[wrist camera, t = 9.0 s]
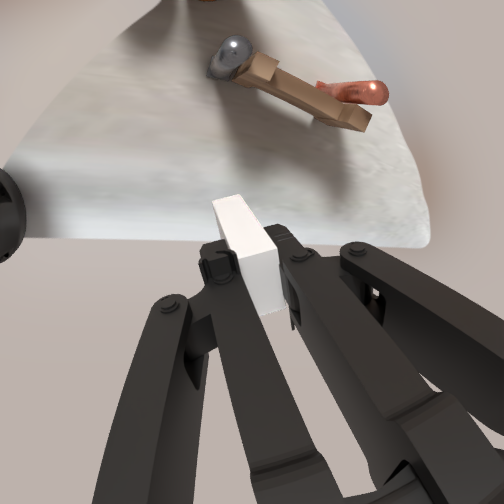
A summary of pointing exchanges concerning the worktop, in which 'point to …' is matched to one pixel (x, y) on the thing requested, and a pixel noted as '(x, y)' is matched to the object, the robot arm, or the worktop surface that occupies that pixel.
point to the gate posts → (358, 92)
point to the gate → (299, 93)
